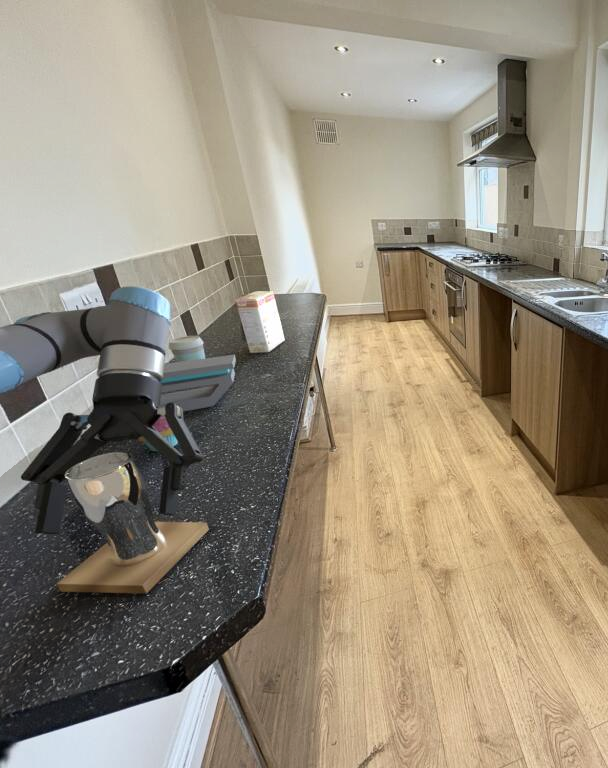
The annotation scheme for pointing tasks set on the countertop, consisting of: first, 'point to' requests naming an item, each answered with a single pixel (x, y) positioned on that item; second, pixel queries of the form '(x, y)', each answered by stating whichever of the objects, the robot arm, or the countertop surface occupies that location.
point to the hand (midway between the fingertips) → (109, 523)
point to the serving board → (139, 576)
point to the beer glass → (117, 505)
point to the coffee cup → (187, 348)
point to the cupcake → (165, 432)
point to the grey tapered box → (197, 381)
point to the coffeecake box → (260, 321)
